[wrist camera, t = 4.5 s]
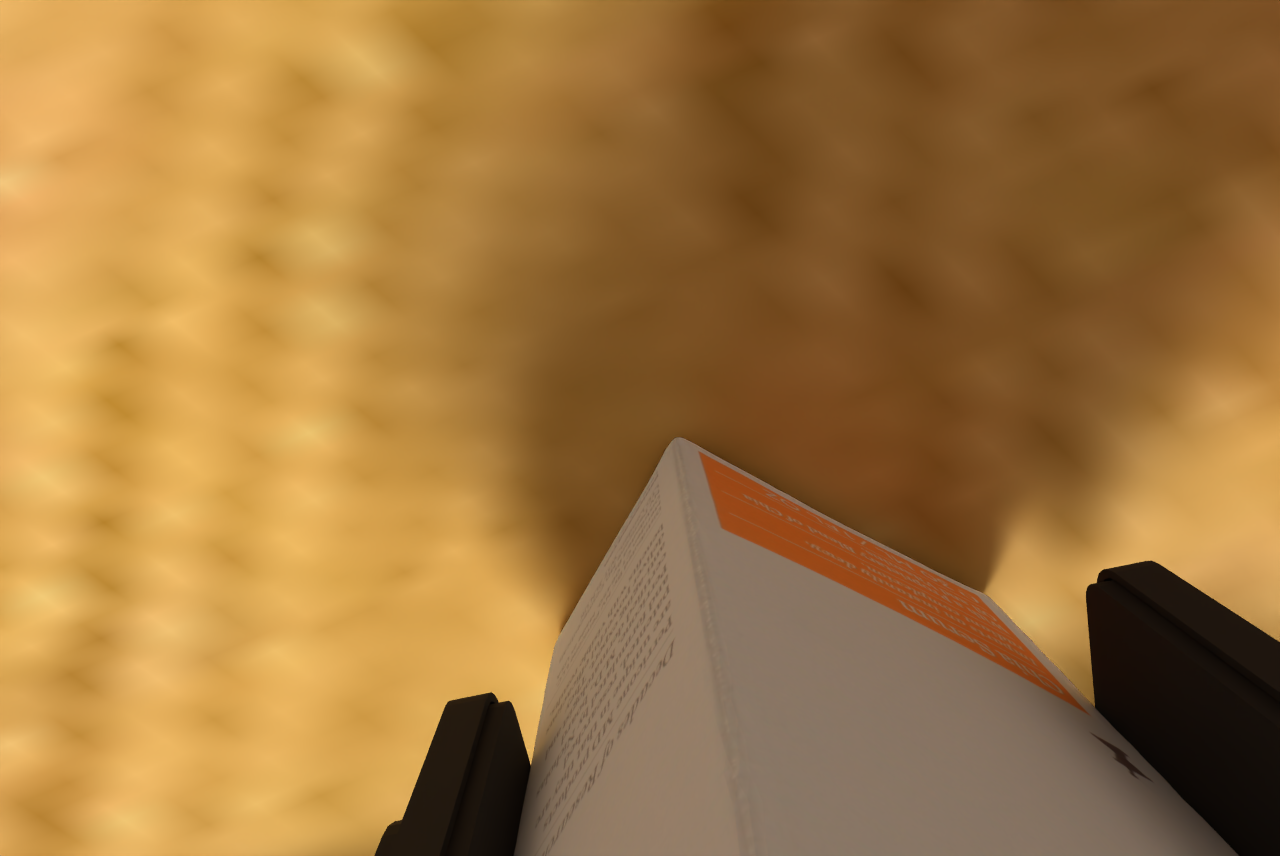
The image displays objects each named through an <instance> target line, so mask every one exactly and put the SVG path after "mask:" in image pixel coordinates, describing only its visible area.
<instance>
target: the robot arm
mask: <svg viewBox="0 0 1280 856" xmlns="http://www.w3.org/2000/svg"><path fill="white" fill-rule="evenodd" d="M1086 603H1087V615H1088V627H1089V639H1090V651H1091V663H1092V675H1093V687H1094V698H1095V708H1096V709H1097V710H1098V711H1099V712H1100V714H1101V715H1102V716H1103V717H1104V718H1105V719H1106V720H1107V721H1108V722H1109V723H1110V724H1111V725H1112V726H1113V727H1114V728H1115V729H1116V730H1117V731H1118V732H1119V733H1120V734H1121V735H1122V736H1123V737H1124V738H1125V739H1126V740H1127V741H1128V742H1129V743H1130V744H1131V745H1132V746H1133V747H1134V748H1135V749H1136V750H1137V751H1138V752H1139V753H1140V755H1141V756H1142V757H1143V758H1144V759H1145V760H1146V761H1147V762H1148V763H1149V764H1150V765H1151V766H1152V767H1153V768H1154V769H1155V770H1156V771H1157V772H1158V773H1159V774H1160V775H1161V776H1162V777H1163V778H1164V779H1165V780H1166V781H1167V782H1168V783H1169V784H1170V785H1171V787H1172V788H1173V789H1174V790H1175V791H1176V792H1177V793H1178V794H1179V795H1180V797H1181V798H1182V799H1183V800H1184V801H1185V802H1186V803H1188V804H1189V805H1190V806H1191V807H1192V808H1193V809H1194V810H1195V811H1196V812H1197V813H1198V814H1199V815H1200V816H1201V817H1202V818H1203V819H1204V820H1205V821H1206V822H1207V823H1208V824H1209V825H1210V826H1211V827H1212V828H1213V829H1214V830H1215V831H1216V832H1217V833H1218V834H1219V835H1220V837H1221V838H1222V839H1223V840H1224V841H1225V842H1226V843H1227V844H1228V845H1229V846H1230V847H1231V848H1232V849H1233V850H1234V851H1235V852H1236V853H1237V854H1238V855H1239V856H1280V642H1279V641H1277V640H1275V639H1274V638H1272V637H1271V636H1269V635H1268V634H1266V633H1265V632H1263V631H1262V630H1260V629H1258V628H1257V627H1255V626H1254V625H1252V624H1251V623H1249V622H1248V621H1246V620H1245V619H1243V618H1241V617H1240V616H1238V615H1237V614H1235V613H1234V612H1232V611H1231V610H1229V609H1228V608H1226V607H1225V606H1223V605H1221V604H1220V603H1218V602H1217V601H1215V600H1214V599H1212V598H1211V597H1209V596H1208V595H1206V594H1204V593H1203V592H1201V591H1200V590H1198V589H1197V588H1195V587H1194V586H1192V585H1191V584H1189V583H1187V582H1186V581H1184V580H1183V579H1181V578H1180V577H1178V576H1177V575H1175V574H1174V573H1172V572H1171V571H1169V570H1167V569H1166V568H1164V567H1163V566H1161V565H1160V564H1158V563H1156V562H1153V561H1144V562H1139V563H1134V564H1129V565H1124V566H1119V567H1114V568H1109V569H1104V570H1102V571H1101V572H1100V573H1099V575H1098V579H1097V583H1095V584H1090V585H1089V586H1088V588H1087V591H1086ZM530 768H531V765H530V761H529V758H528V754H527V751H526V748H525V744H524V741H523V737H522V734H521V730H520V727H519V723H518V720H517V716H516V713H515V710H514V707H513V705H512V703H511V702H510V701H505V702H500V703H499V702H498V700H497V698H496V696H495V695H494V694H493V693H492V692H491V693H486V694H481V695H476V696H471V697H466V698H461V699H456V700H451V701H449V702H448V703H447V704H446V706H445V708H444V711H443V714H442V716H441V719H440V722H439V724H438V727H437V730H436V732H435V735H434V737H433V740H432V743H431V745H430V748H429V751H428V753H427V756H426V759H425V761H424V764H423V767H422V769H421V772H420V774H419V777H418V780H417V782H416V785H415V788H414V790H413V793H412V796H411V798H410V801H409V804H408V806H407V809H406V811H405V814H404V817H403V819H402V820H400V821H395V822H393V823H392V824H390V825H389V826H388V827H387V829H386V831H385V832H384V834H383V836H382V838H381V841H380V843H379V846H378V848H377V851H376V853H375V856H514V851H515V847H516V842H517V836H518V830H519V825H520V819H521V814H522V809H523V804H524V799H525V794H526V789H527V784H528V779H529V773H530Z"/></svg>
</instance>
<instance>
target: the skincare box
mask: <svg viewBox="0 0 1280 856" xmlns="http://www.w3.org/2000/svg"><path fill="white" fill-rule="evenodd" d="M514 856H1239V855H1238V854H1237V853H1236V852H1235V851H1234V850H1233V849H1232V848H1231V847H1230V846H1229V845H1228V844H1227V843H1226V842H1225V841H1224V840H1223V839H1222V838H1221V837H1220V835H1219V834H1218V833H1217V832H1216V831H1215V830H1214V829H1213V828H1212V827H1211V826H1210V825H1209V824H1208V823H1207V822H1206V821H1205V820H1204V819H1203V818H1202V817H1201V816H1200V815H1199V814H1198V813H1197V812H1196V811H1195V810H1194V809H1193V808H1192V807H1191V806H1190V805H1189V804H1188V803H1186V802H1185V801H1184V800H1183V799H1182V798H1181V797H1180V795H1179V794H1178V793H1177V792H1176V791H1175V790H1174V789H1173V788H1172V787H1171V785H1170V784H1169V783H1168V782H1167V781H1166V780H1165V779H1164V778H1163V777H1162V776H1161V775H1160V774H1159V773H1158V772H1157V771H1156V770H1155V769H1154V768H1153V767H1152V766H1151V765H1150V764H1149V763H1148V762H1147V761H1146V760H1145V759H1144V758H1143V757H1142V756H1141V755H1140V753H1139V752H1138V751H1137V750H1136V749H1135V748H1134V747H1133V746H1132V745H1131V744H1130V743H1129V742H1128V741H1127V740H1126V739H1125V738H1124V737H1123V736H1122V735H1121V734H1120V733H1119V732H1118V731H1117V730H1116V729H1115V728H1114V727H1113V726H1112V725H1111V724H1110V723H1109V722H1108V721H1107V720H1106V719H1105V718H1104V717H1103V716H1102V715H1101V714H1100V712H1099V711H1098V710H1097V709H1096V708H1095V707H1094V706H1093V705H1092V704H1091V703H1090V702H1089V701H1088V700H1087V699H1086V698H1085V697H1084V695H1083V694H1082V693H1081V692H1080V691H1079V690H1078V689H1077V688H1076V687H1075V686H1074V685H1073V684H1072V683H1071V682H1070V680H1069V679H1068V678H1067V677H1066V676H1065V675H1064V674H1063V673H1062V672H1061V671H1060V670H1059V669H1058V668H1057V667H1056V666H1055V665H1054V664H1053V663H1052V662H1051V661H1050V660H1049V659H1048V658H1047V657H1046V656H1045V655H1044V654H1043V653H1042V652H1041V650H1040V649H1039V648H1038V647H1037V646H1036V645H1035V644H1034V643H1033V642H1032V640H1031V639H1030V638H1029V637H1028V636H1027V635H1026V634H1025V633H1023V632H1022V631H1021V630H1020V629H1019V628H1018V627H1017V626H1016V625H1015V623H1014V622H1013V621H1012V620H1011V619H1010V618H1009V617H1008V616H1007V615H1006V614H1005V613H1004V612H1003V611H1002V610H1001V608H1000V607H999V606H998V605H997V604H996V603H995V602H994V601H993V600H992V599H991V598H990V597H988V596H987V595H985V594H983V593H982V592H980V591H977V590H975V589H972V588H970V587H968V586H965V585H963V584H961V583H959V582H957V581H955V580H953V579H951V578H949V577H947V576H945V575H942V574H940V573H938V572H936V571H934V570H932V569H930V568H928V567H926V566H925V565H923V564H921V563H919V562H917V561H915V560H913V559H911V558H909V557H907V556H905V555H903V554H901V553H899V552H897V551H895V550H893V549H891V548H889V547H887V546H885V545H883V544H881V543H879V542H877V541H875V540H873V539H871V538H869V537H867V536H865V535H863V534H861V533H859V532H857V531H855V530H853V529H851V528H849V527H847V526H845V525H843V524H841V523H839V522H837V521H835V520H834V519H832V518H830V517H828V516H826V515H824V514H822V513H820V512H818V511H816V510H814V509H813V508H811V507H809V506H807V505H806V504H804V503H802V502H800V501H798V500H797V499H795V498H793V497H791V496H790V495H788V494H786V493H784V492H782V491H780V490H778V489H776V488H774V487H773V486H771V485H769V484H767V483H766V482H764V481H762V480H760V479H758V478H756V477H755V476H753V475H751V474H749V473H747V472H745V471H743V470H742V469H740V468H738V467H736V466H734V465H732V464H730V463H728V462H726V461H724V460H723V459H721V458H719V457H717V456H715V455H714V454H712V453H710V452H708V451H707V450H705V449H703V448H701V447H700V446H698V445H696V444H694V443H692V442H690V441H688V440H686V439H684V438H680V437H677V438H675V439H673V440H672V441H671V443H670V444H669V446H668V447H667V448H666V450H665V452H664V454H663V456H662V458H661V459H660V461H659V463H658V465H657V467H656V469H655V471H654V473H653V475H652V476H651V478H650V480H649V482H648V484H647V486H646V487H645V489H644V491H643V492H642V494H641V496H640V497H639V499H638V501H637V502H636V504H635V506H634V507H633V509H632V511H631V513H630V514H629V516H628V518H627V519H626V521H625V523H624V524H623V526H622V528H621V529H620V531H619V533H618V535H617V536H616V538H615V540H614V541H613V543H612V545H611V546H610V548H609V550H608V552H607V553H606V555H605V557H604V559H603V560H602V562H601V564H600V565H599V567H598V569H597V571H596V572H595V574H594V576H593V578H592V579H591V581H590V583H589V585H588V586H587V588H586V590H585V592H584V593H583V595H582V597H581V598H580V600H579V602H578V604H577V605H576V607H575V609H574V611H573V612H572V614H571V616H570V618H569V619H568V621H567V623H566V625H565V626H564V628H563V630H562V631H561V633H560V635H559V637H558V639H557V642H556V644H555V646H554V650H553V655H552V659H551V664H550V669H549V674H548V679H547V684H546V689H545V694H544V701H543V706H542V711H541V716H540V721H539V726H538V731H537V736H536V742H535V747H534V753H533V758H532V763H531V768H530V773H529V779H528V784H527V789H526V794H525V799H524V804H523V809H522V814H521V819H520V825H519V830H518V836H517V842H516V847H515V851H514Z"/></svg>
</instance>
